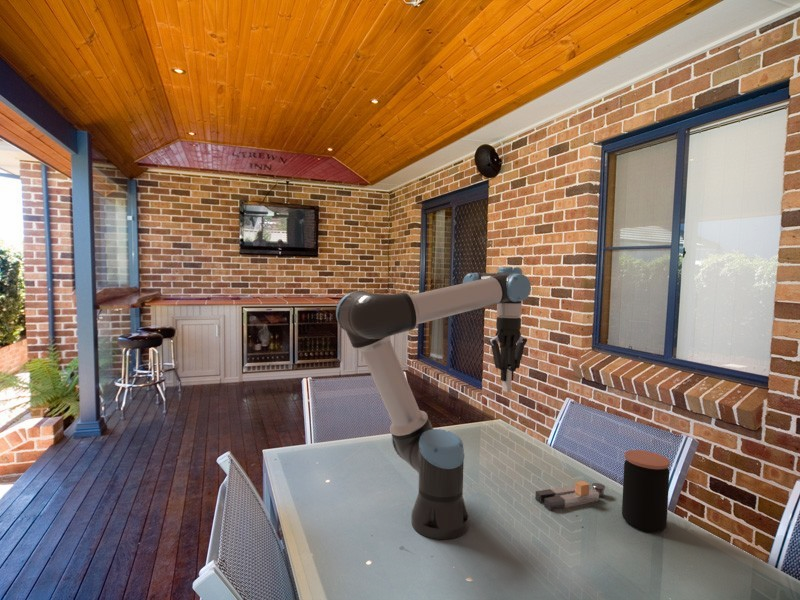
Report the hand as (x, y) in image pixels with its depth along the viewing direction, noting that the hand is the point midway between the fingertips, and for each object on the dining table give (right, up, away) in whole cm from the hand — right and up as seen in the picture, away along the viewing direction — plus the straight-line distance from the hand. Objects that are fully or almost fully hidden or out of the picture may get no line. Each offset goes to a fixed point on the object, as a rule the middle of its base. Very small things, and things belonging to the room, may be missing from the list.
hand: (506, 390), depth 143 cm
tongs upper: (+15, -30, -8) cm, 35 cm away
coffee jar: (+32, -31, -21) cm, 49 cm away
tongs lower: (+18, -30, -10) cm, 37 cm away
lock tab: (+20, -28, -11) cm, 36 cm away
